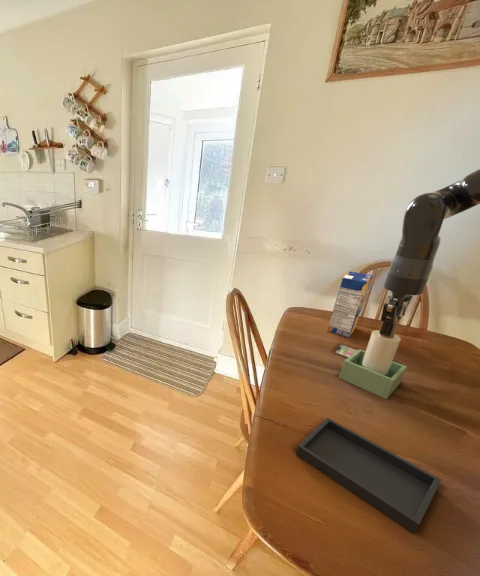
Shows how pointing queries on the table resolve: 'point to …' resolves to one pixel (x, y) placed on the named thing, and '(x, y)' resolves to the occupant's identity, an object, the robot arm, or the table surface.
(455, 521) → the table surface
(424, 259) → the robot arm
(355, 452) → the tray
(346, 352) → the smartphone
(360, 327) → the table surface
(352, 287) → the beverage box
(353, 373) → the bin
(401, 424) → the table surface
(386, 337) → the bottle
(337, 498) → the table surface
